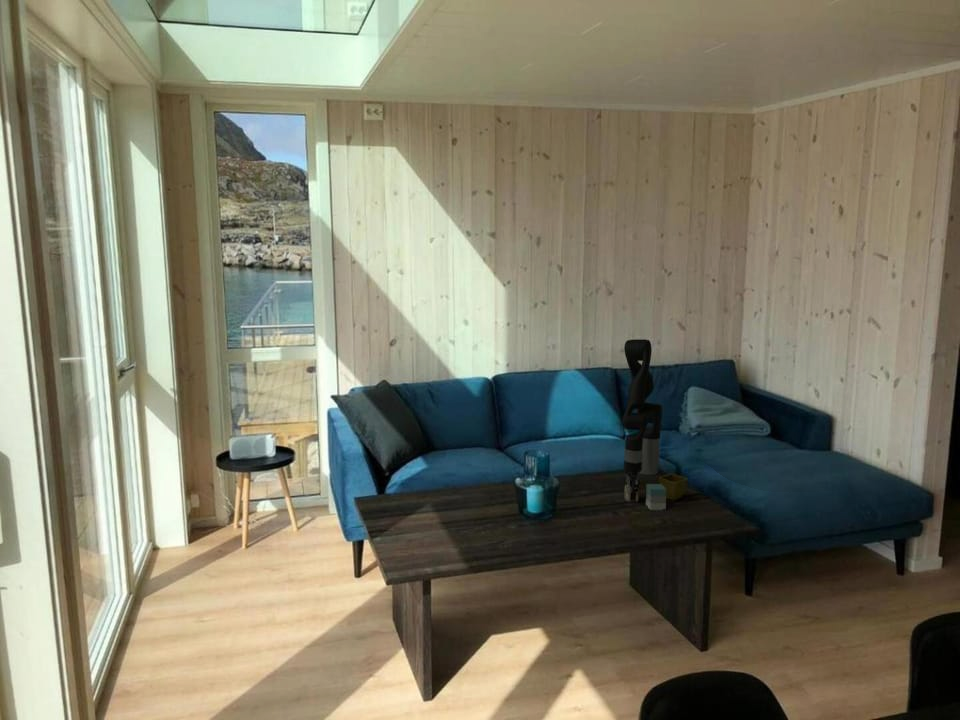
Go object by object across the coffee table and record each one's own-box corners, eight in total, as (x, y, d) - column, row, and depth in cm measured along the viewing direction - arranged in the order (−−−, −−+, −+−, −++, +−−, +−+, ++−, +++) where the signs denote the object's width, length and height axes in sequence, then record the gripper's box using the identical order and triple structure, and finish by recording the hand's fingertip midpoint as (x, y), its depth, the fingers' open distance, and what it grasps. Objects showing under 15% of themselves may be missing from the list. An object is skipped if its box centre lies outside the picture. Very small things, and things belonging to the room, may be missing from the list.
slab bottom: (645, 504, 320) (646, 498, 319) (660, 504, 320) (661, 497, 320) (650, 510, 314) (650, 503, 313) (665, 510, 314) (665, 503, 314)
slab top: (646, 491, 319) (646, 484, 318) (661, 490, 319) (661, 484, 319) (650, 496, 313) (650, 489, 312) (665, 496, 313) (666, 489, 313)
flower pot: (674, 503, 322) (675, 482, 320) (657, 497, 328) (658, 477, 327) (686, 498, 327) (688, 478, 326) (669, 493, 334) (671, 473, 332)
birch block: (624, 497, 327) (624, 485, 326) (634, 497, 328) (635, 485, 327) (627, 501, 323) (627, 488, 322) (637, 501, 323) (638, 488, 322)
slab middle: (646, 497, 319) (646, 491, 319) (661, 497, 320) (661, 491, 319) (650, 503, 313) (650, 496, 313) (665, 503, 314) (666, 496, 313)
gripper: (620, 454, 329) (618, 492, 332) (628, 464, 315) (626, 504, 318) (637, 454, 330) (635, 492, 333) (646, 464, 316) (644, 504, 318)
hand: (631, 498), depth 325 cm, fingers closed on birch block, 4 cm apart
